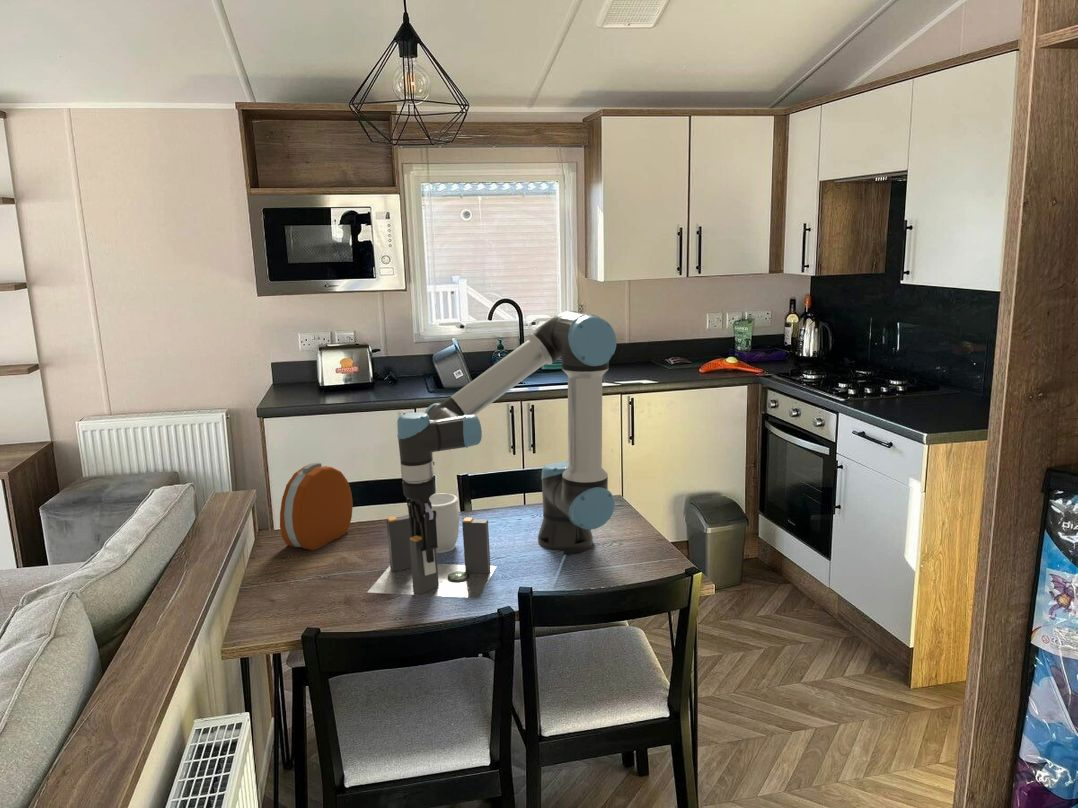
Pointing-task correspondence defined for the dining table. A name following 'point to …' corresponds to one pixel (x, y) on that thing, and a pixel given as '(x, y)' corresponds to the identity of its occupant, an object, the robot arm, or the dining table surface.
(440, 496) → the jar
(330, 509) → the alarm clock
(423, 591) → the grey standing slab
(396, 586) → the plate
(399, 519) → the grey tall block
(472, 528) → the grey tall block piece
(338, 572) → the dining table surface
